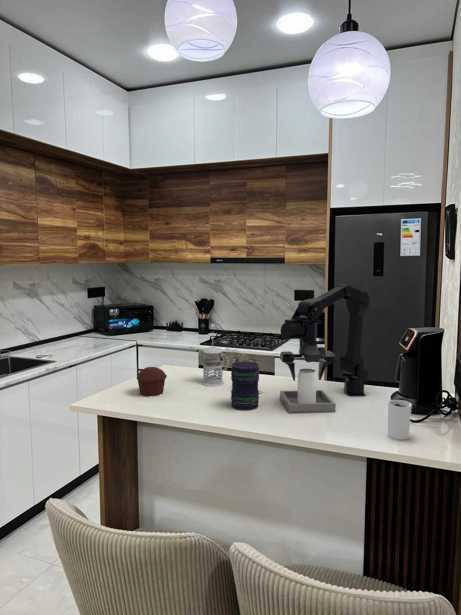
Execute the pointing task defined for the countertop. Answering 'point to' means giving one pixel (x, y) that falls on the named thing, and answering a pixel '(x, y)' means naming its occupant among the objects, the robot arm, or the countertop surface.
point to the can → (306, 386)
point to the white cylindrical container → (399, 419)
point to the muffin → (151, 381)
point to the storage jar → (245, 385)
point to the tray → (320, 406)
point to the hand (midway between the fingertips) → (306, 380)
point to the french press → (213, 367)
